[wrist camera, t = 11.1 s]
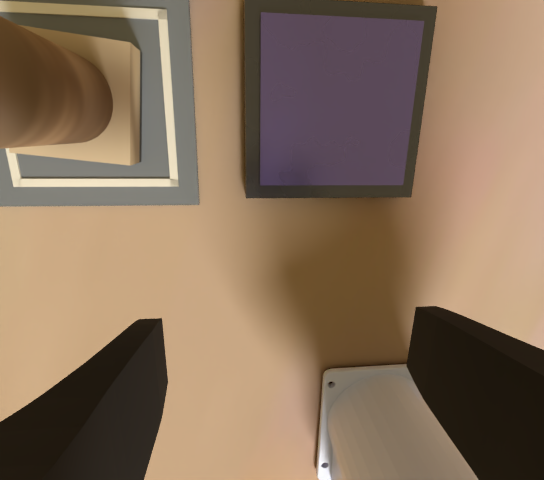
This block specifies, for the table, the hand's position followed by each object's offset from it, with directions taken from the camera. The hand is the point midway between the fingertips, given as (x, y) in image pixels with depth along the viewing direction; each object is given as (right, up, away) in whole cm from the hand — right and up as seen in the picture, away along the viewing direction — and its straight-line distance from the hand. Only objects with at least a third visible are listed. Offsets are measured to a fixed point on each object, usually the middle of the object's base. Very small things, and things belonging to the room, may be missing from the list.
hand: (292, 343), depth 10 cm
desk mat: (-9, +10, +7) cm, 15 cm away
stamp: (-9, +10, +7) cm, 15 cm away
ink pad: (+2, +10, +8) cm, 13 cm away
